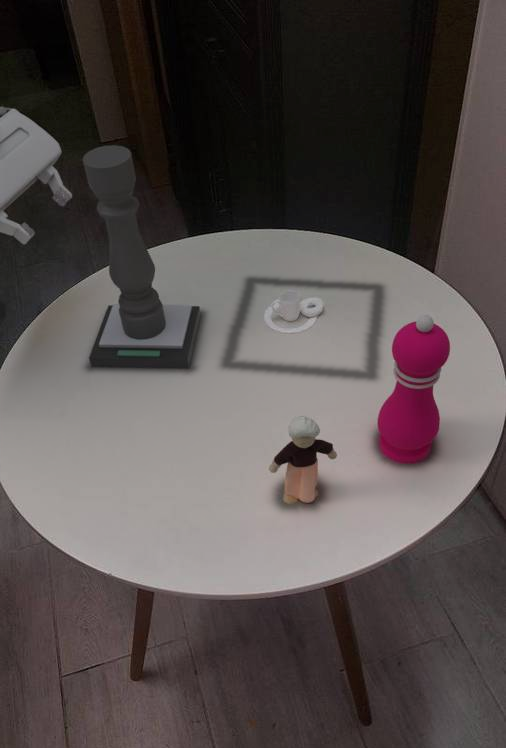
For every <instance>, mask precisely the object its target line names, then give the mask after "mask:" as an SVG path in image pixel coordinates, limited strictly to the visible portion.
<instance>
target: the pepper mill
mask: <svg viewBox="0 0 506 748" xmlns="http://www.w3.org/2000/svg"><path fill="white" fill-rule="evenodd" d="M450 352H451V343H450V339H449V336H448V334H447V332H446V331H445V330H444V329H443V328H442V327H441V326H439V325H438V324H436V323H435V321H434V319H433V317H432V316H431V315H428V314H422V315H420V316H418V318H416V321H412V322H409V323H407V324H405V325H404V326H402V327H401V328H400V329H398V331H397V332H396V334H395V336H394V337H393V340H392V345H391V354H392V355H391V356H392V358H393V360H394V367H393V376H394V378H395V379H396V382H395V386H394V389H393V391H392V392H391V394H390V395H389V396H388V397H387V398H386V399H385V401H384V402H383V404H382V405H381V408H380V409H379V412H378V416H377V423H376V425H377V429H378V431H379V439H378V446H379V449H380V451H381V453H382V454H383V455H384V456H385V457H386V458H388V460H390V461H393V462H395V463H399V464H417V463H419V462H421V461H423V460H424V459H426V458H427V457H428V455H429V454H430V452H431V448H432V443H433V441H434V440H435V439H436V437H438V433H439V430H440V423H441V416H440V410H439V408H438V405H437V402H436V400H435V397H434V385H436V384H437V383H438V381H439V380H440V377H441V372H442V367H443V366H444V365H445V364H446V363H447V361H448V360H449V357H450Z"/></svg>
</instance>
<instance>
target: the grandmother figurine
mask: <svg viewBox="0 0 506 748" xmlns="http://www.w3.org/2000/svg"><path fill="white" fill-rule="evenodd" d="M287 429H288V435H289V437H290V438H291V441H290V442H288V443H287V444H286V445H285V446H284V447H283V448H282V449H281V450H280V451H279V452H278V453H277V454H276V455H275V456H274V458H273V459H272V462H271V464H270V465H269V467H268V471H269V472H270V473H272V474H275V473H277V472H278V470H279V469H280V468H281V466H283V465H284V464H286V465H287V466H286V469H285V475H284V476H285V477H284V488H283V489H284V493H283V499H282V500H283V502H284V503H285V504H288V505H294V504H295V503H297V502H298V500H299V501H300V502H302V503H307V504H309V503H312V502H315V498H317V497H318V496H319V491H318V489H317V488H316V487H317V484H318V475H319V463H318V462H319V459H318V455H317V454H318V453H319V454H321V455H327V458H328V459H330V460H335V459H336V458H337V457H338V453H337V452H336V451H335V449H334V445H333V443H332V442H329V441H326V440H324V439H320V438H319V439H317V438H316V437H318V436H319V434H320V432H321V428H320V426H319V425H318V423H317V422H316V421H315V420H314V419H312V418H310V417H308V416H305V415H301V416H298V417H294V418H292V420H291V421H290V423H289V424H288V427H287Z"/></svg>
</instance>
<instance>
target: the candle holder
mask: <svg viewBox="0 0 506 748" xmlns="http://www.w3.org/2000/svg"><path fill="white" fill-rule="evenodd" d="M82 164H83V167H84V171H85V174H86V179H87V183H88V186H89V189H90V190H91V191H92V193H93V195H94V196H95V197H96V198H97V199H98V201H99V202H97V205H96V210H97V213H98V215H99V217H101V218H103V219H104V221H105V225H106V229H107V234H108V237H109V241H108V242H109V243H108V245H109V248H108V252H109V253H108V254H109V255H108V257H109V258H108V274H109V277H110V279H111V281H112V283H113V285H114V286H116V288H118V289H119V292H120V295H119V297H118V301H117V303H118V305H120V307H119V314H120V318H121V322H122V326H123V330H124V332H125V334H126V335H127V336H129V337H130V338H133V339H137V340H144V339H149V338H153V337H155V336H157V335H159V334H160V333H161V332H162V331H163V330H164V329H165V325H166V321H165V315H164V310H163V305H164V304H163V303H162V301H161V299H160V295H159V293H158V291H157V290H156V289H155V288H154V287H153V286H152V285H153V282H154V278H155V274H156V266H155V263H154V261H153V259H152V257H151V254H150V252H149V250H148V249H147V246H146V244H145V242H144V240H143V237H142V235H141V234H140V228H139V225H138V224H139V223H138V220H137V215H136V213H137V212H138V210H139V207H140V202H139V200H138V198H137V197H136V196H134V195H133V194H134V191H135V188H136V187H135V186H136V181H137V176H136V171H135V167H134V161H133V156H132V152H131V150H130V149H129V148H127V147H126V146H122V145H116V144H115V145H113V144H112V145H102V146H98V147H96V148H94V149H91V150H89V151H88V152H86V153H85V154H84V155H83V158H82Z"/></svg>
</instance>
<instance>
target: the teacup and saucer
mask: <svg viewBox="0 0 506 748" xmlns="http://www.w3.org/2000/svg"><path fill="white" fill-rule="evenodd" d="M278 308H279V309H280V312H278V311H277V309H278ZM324 308H325V303H324V301H323V299H321V298H320V297H308V298H305V299H304V300H302V297H301V293H300V292H298V291H297V290H293V289H292V290H291V289H289V290H284V291H282V292H281V293H280V294H279V296H278V299H275V300H273V301H272V303H271V305H269V306H268V307H267V308H266V310H265V311H264V314H263V321H264V323H265V325H266V326H268V328H270V329H271V330H273V331H275V332H278V333H282V334H298V333H301V332H304V331H307V330H308V329H311V328H312V327H313V326H314V325H315V324H316V322H317V319H318V315H320V314H321V313H322V312H323V310H324ZM273 312H274V313H275V314H276V315H278V316H279V317H281V318H282V319H283V320H284V321H286V322H294V321H297V319H298V318H299V316H300V314H301V315H302V316H304V317H307V318H309V319H308V321H307V322H306V323H304V324H303V325H301V326H299V327H294V328H286V327H281V326H278V324H277V325H276V324H275V322H273V320H272V314H273Z"/></svg>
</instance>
